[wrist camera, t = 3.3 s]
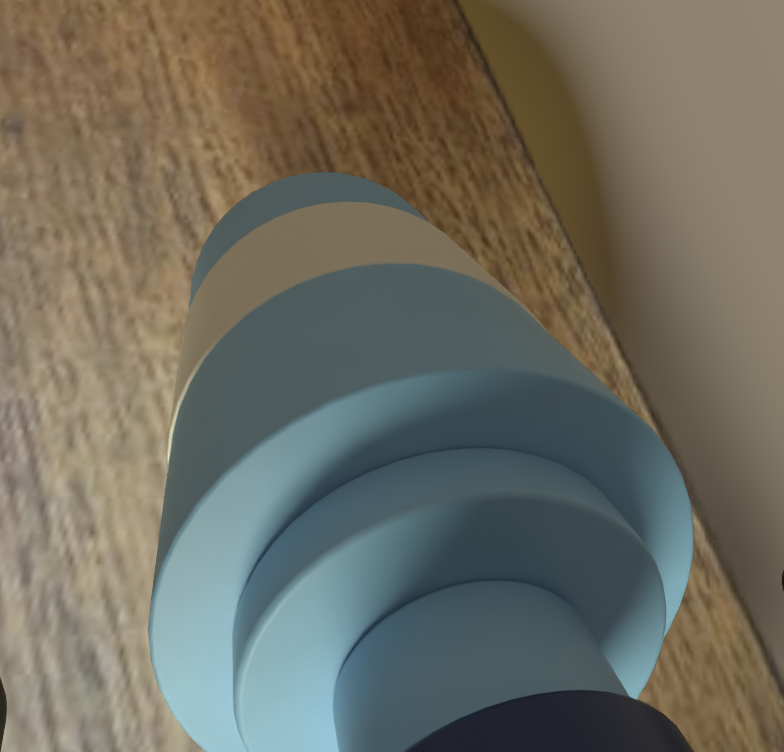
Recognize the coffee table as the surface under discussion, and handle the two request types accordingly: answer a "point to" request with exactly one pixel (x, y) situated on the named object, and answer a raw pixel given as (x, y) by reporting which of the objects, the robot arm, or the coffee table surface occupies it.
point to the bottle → (401, 502)
